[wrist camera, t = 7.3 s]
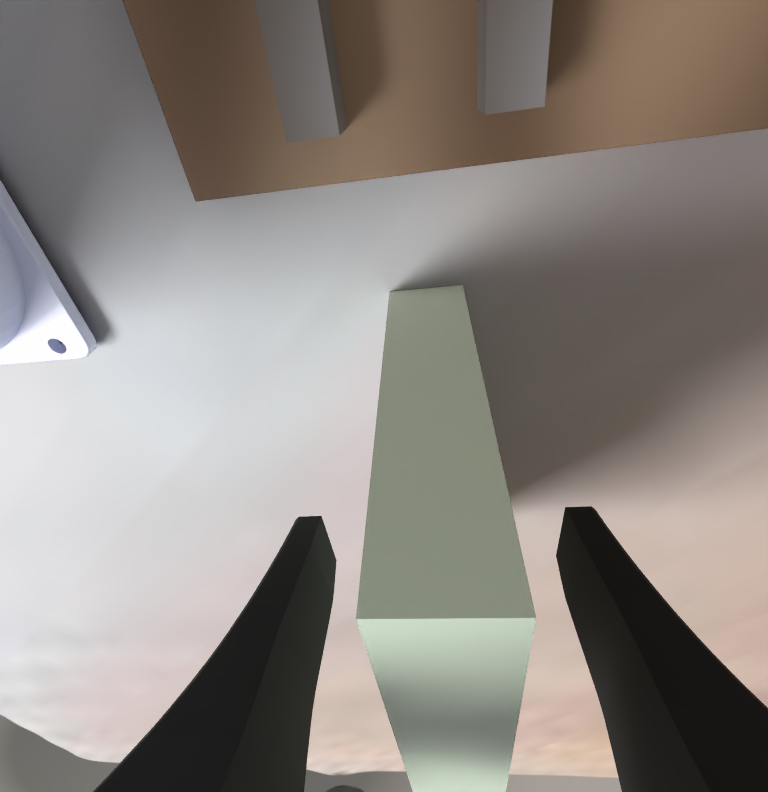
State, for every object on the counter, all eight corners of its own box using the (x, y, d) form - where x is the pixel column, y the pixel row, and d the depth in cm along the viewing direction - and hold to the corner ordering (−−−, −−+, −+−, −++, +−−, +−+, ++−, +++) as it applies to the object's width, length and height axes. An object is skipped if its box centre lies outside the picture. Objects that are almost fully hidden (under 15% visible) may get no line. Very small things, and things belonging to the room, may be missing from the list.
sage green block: (417, 516, 18) (419, 813, 11) (389, 291, 12) (356, 619, 5) (466, 515, 18) (501, 816, 11) (462, 284, 12) (536, 618, 5)
